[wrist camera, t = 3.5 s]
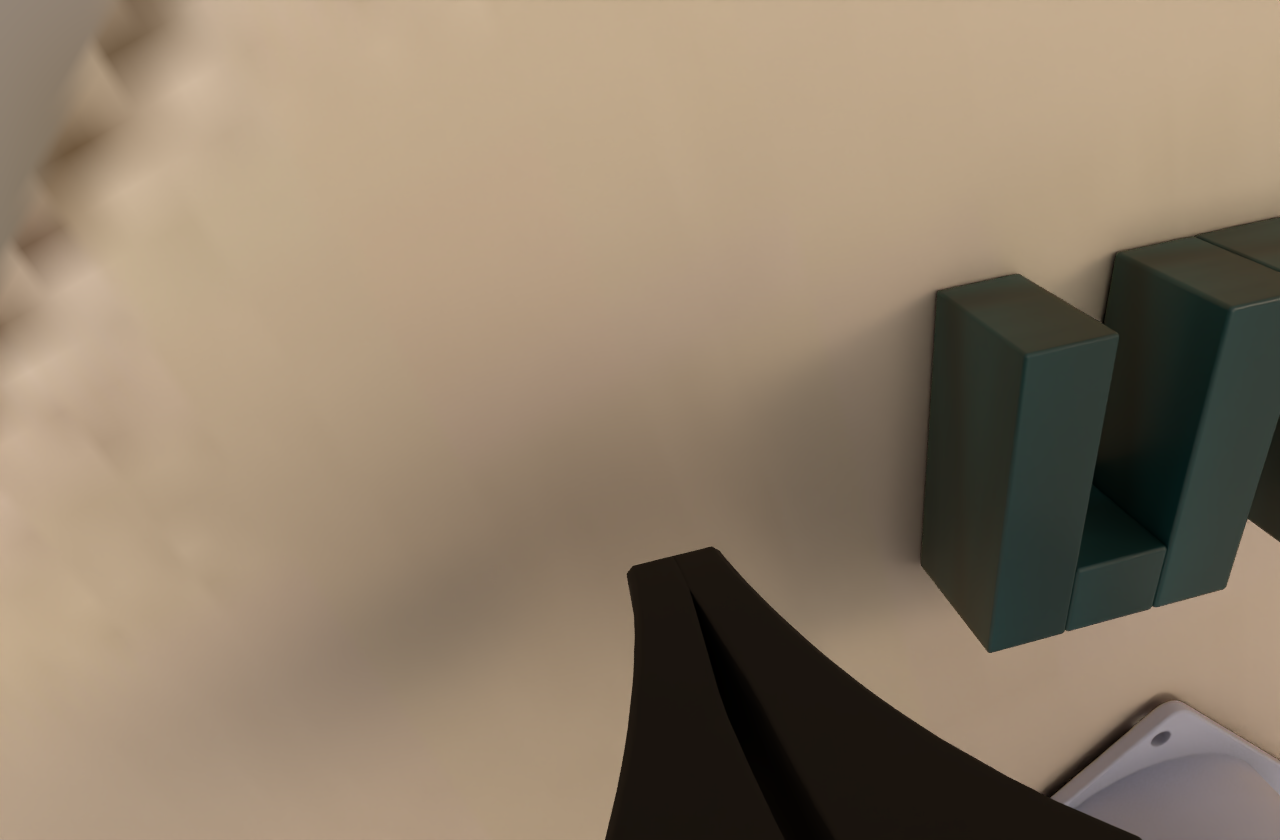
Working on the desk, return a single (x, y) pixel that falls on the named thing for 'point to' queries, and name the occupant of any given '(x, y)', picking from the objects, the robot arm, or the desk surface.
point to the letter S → (1104, 437)
